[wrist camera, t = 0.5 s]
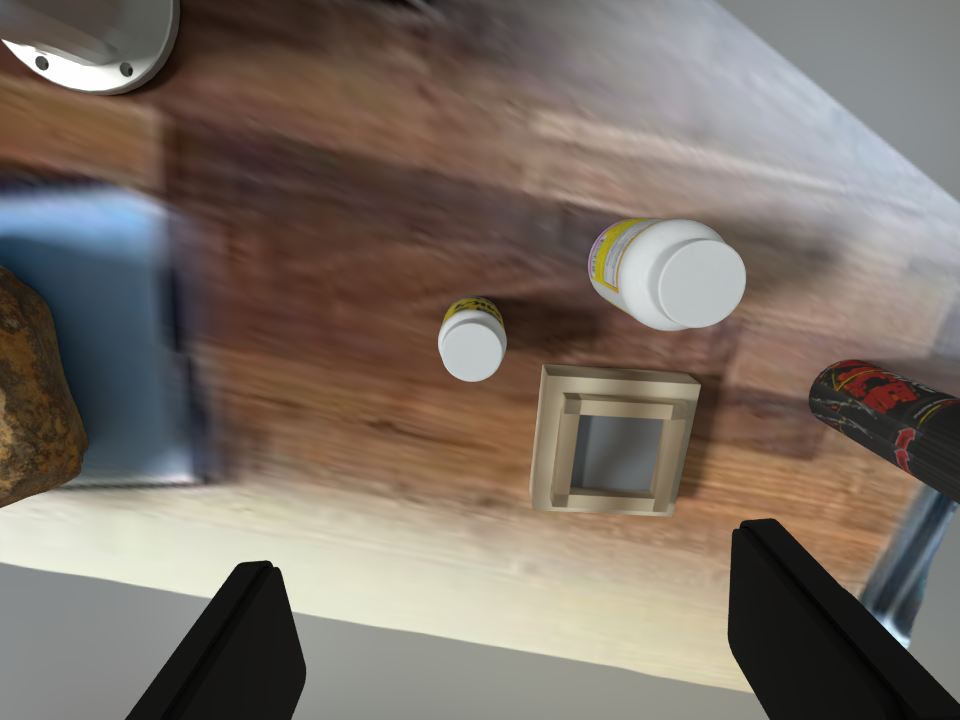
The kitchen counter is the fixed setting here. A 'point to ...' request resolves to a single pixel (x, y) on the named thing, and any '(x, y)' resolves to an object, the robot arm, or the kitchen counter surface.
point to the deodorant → (893, 420)
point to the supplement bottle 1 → (472, 339)
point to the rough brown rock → (33, 399)
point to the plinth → (611, 439)
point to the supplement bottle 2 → (667, 272)
